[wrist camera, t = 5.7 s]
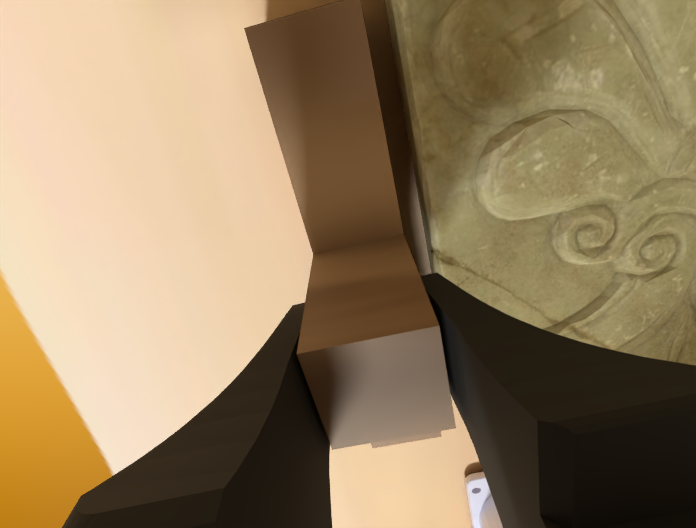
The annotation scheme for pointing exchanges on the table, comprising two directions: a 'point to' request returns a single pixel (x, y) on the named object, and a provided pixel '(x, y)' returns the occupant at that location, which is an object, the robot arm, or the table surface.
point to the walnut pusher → (351, 235)
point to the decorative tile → (559, 160)
